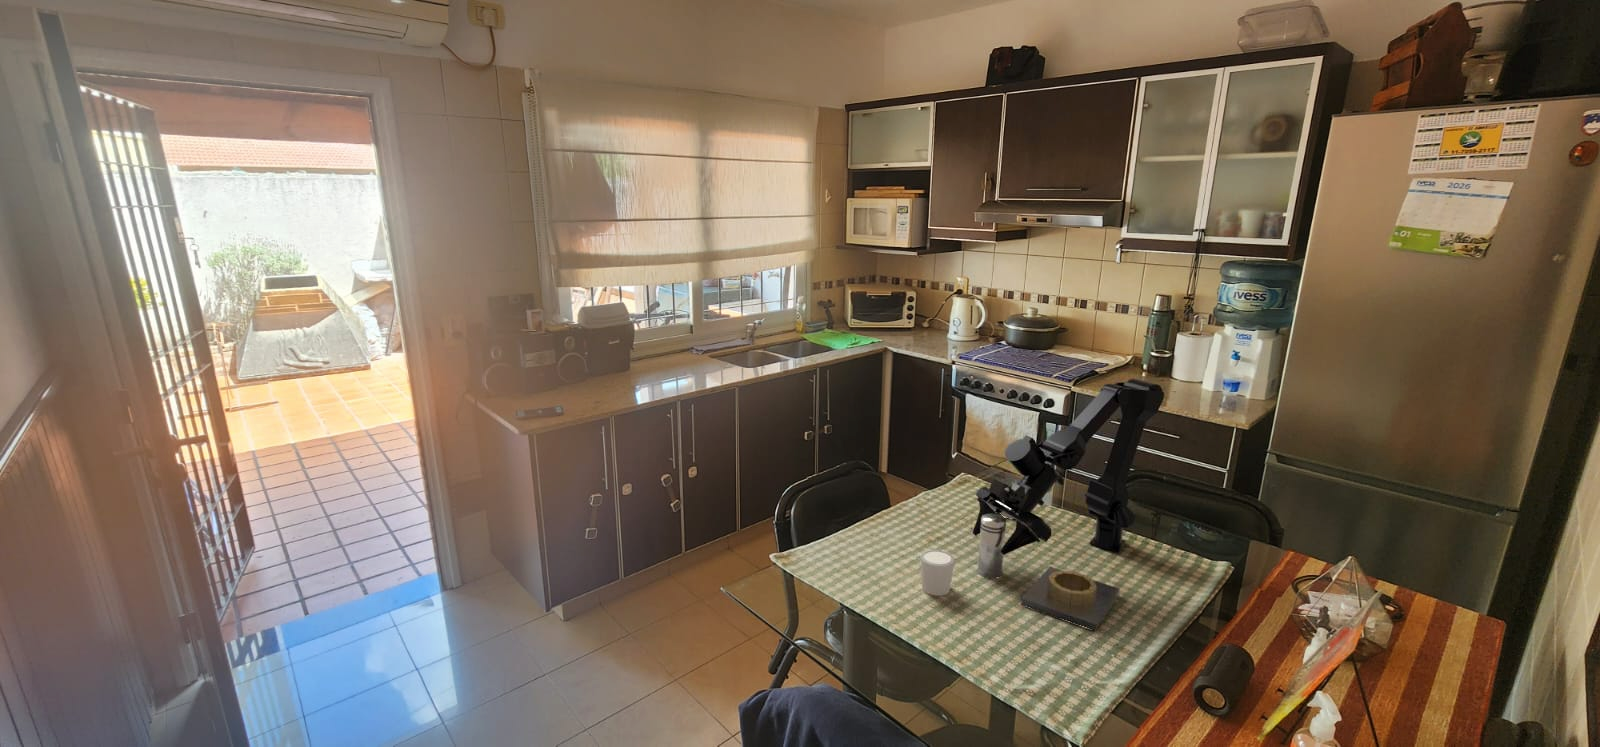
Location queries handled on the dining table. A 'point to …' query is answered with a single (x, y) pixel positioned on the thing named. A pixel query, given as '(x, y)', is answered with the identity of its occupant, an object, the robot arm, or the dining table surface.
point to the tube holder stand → (1071, 597)
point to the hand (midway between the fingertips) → (987, 543)
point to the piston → (991, 545)
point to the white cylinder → (936, 571)
